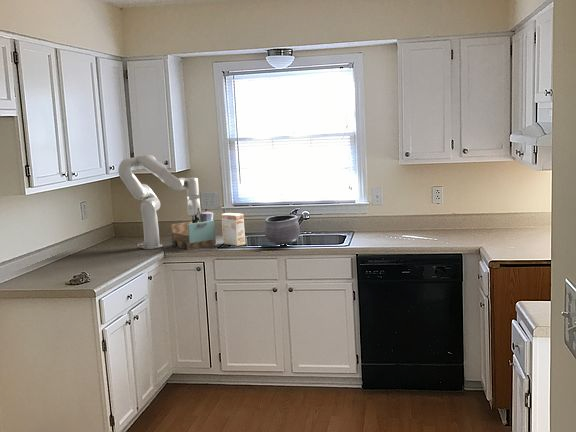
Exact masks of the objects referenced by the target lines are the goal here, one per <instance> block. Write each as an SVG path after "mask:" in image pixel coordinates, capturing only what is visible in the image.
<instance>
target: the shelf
mask: <svg viewBox="0 0 576 432" xmlns="http://www.w3.org/2000/svg"><path fill="white" fill-rule="evenodd" d="M199 221H200V220H199ZM199 221H198V223H199ZM188 224H192V221H188V222H187V221H186V222H181V223H173V224H171V226H170V227H171V228H170V229H171V239H172V240H171V245H172V247H174V248H180V249H182V250H193V249H200V248H205V247H211V246H215V245H216V242H217V240H216V239H217V238H216V239H213V240H207V241H201V242H195V243H189V234H188Z"/></svg>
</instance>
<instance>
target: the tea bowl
mask: <svg viewBox="0 0 576 432" xmlns="http://www.w3.org/2000/svg"><path fill="white" fill-rule="evenodd" d="M264 221H265V222H264V223H265V224H264V236H265V239H266V241H267V242H268V243H273V244H274V245H288V244H291V243H292V242H296V241H297V240H298V239H299V237H300V234H301V230H300V224H299V217H298V215H293V214H292V215H291V214H281V215H280V214H279V215H273V216H269V217H267V218H265V219H264Z"/></svg>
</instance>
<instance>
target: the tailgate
mask: <svg viewBox="0 0 576 432" xmlns="http://www.w3.org/2000/svg"><path fill="white" fill-rule="evenodd" d="M188 234H189V243H195V242H201V241H207V240H213V239H217V238H216V237H217V236H216V223H215V220H214V219H213V220H212V221H205V222H199V223H192V224H188Z"/></svg>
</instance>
